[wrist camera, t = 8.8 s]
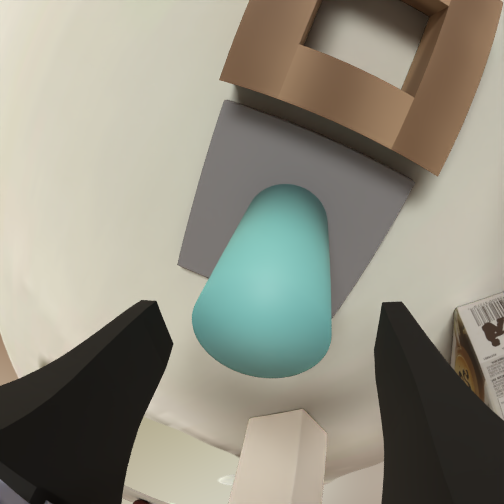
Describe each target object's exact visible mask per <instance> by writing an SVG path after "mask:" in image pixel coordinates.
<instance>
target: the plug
mask: <svg viewBox="0 0 504 504" xmlns="http://www.w3.org/2000/svg"><path fill="white" fill-rule="evenodd" d="M192 325H193V329H194V333H195V335H196V337H197V339H198V341H199V342H200V344H201V345H202V347H203V348H204V349H205V350H206V351H207V352H208V353H209V354H210V355H211V356H212V357H213V358H214V359H215V360H217V361H218V362H220V363H221V364H223V365H225V366H226V367H228V368H230V369H232V370H234V371H237V372H240V373H242V374H246V375H250V376H254V377H261V378H283V377H289V376H293V375H297V374H300V373H302V372H305V371H307V370H309V369H310V368H312V367H313V366H315V365H316V364H317V363H318V362H319V361H321V360H322V358H323V357H324V356H325V354H326V353H327V351H328V349H329V346H330V343H331V278H330V253H329V235H328V220H327V214H326V211H325V209H324V206H323V205H322V203H321V202H320V200H319V199H318V198H317V197H316V196H315V195H314V194H313V193H311V192H310V191H308V190H307V189H305V188H303V187H300V186H297V185H292V184H278V185H274V186H271V187H268V188H266V189H264V190H262V191H261V192H260V193H258V194H257V195H256V196H255V197H254V199H253V200H252V202H251V203H250V205H249V207H248V209H247V210H246V212H245V214H244V216H243V218H242V219H241V221H240V223H239V225H238V227H237V228H236V230H235V232H234V234H233V236H232V237H231V239H230V241H229V243H228V245H227V246H226V248H225V250H224V252H223V254H222V256H221V257H220V259H219V261H218V263H217V265H216V266H215V268H214V270H213V272H212V274H211V276H210V278H209V279H208V281H207V283H206V285H205V287H204V289H203V291H202V292H201V294H200V296H199V298H198V300H197V302H196V304H195V306H194V309H193V313H192Z"/></svg>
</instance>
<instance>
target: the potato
mask: <svg viewBox="0 0 504 504" xmlns="http://www.w3.org/2000/svg"><path fill="white" fill-rule="evenodd" d="M133 504H149V503H148V502H146V501H144V500H136V501H135V502H134V503H133Z"/></svg>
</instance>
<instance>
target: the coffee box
mask: <svg viewBox="0 0 504 504" xmlns="http://www.w3.org/2000/svg"><path fill="white" fill-rule="evenodd" d="M450 366H451V367H452V368H453V369H454V370H455V372H456V373H457V374H458V375H459V376H460V378H461V379H462V380H463V381H464V382H465V383H466V384H467V385H468V387H469V388H470V389H471V390H472V391H473V392H474V393H475V394H476V395H477V396H478V397H479V398H480V399H481V400H482V401H483V402H484V403H485V404H486V405H487V406H488V407H489V408H490V409H491V410H492V411H493V412H495V413H496V414H497V415H498V416H499V417H500V418H501V419H503V420H504V292H502V293H499V294H496V295H493V296H490V297H488V298H485V299H482V300H479V301H476V302H472V303H469V304H466V305H463V306H460V307H457V308H456V309H455V311H454V329H453V344H452V355H451V364H450Z"/></svg>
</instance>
